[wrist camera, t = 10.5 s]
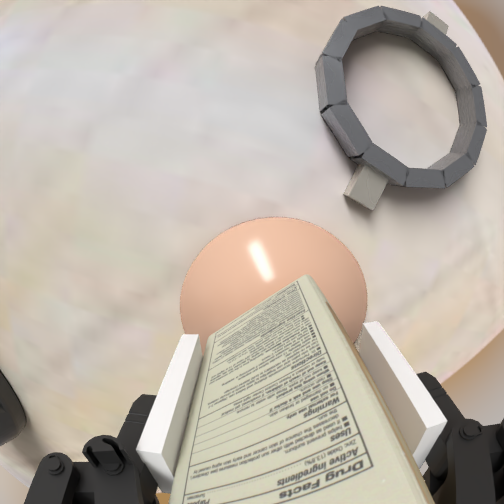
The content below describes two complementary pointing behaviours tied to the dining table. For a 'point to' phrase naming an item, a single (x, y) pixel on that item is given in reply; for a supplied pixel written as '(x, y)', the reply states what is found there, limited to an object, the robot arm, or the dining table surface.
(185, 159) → the dining table surface
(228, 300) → the peach dome button
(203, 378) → the skincare box
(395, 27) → the bayonet collar
